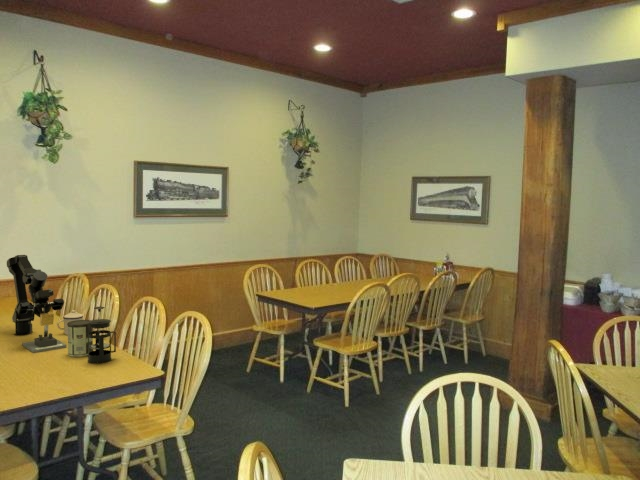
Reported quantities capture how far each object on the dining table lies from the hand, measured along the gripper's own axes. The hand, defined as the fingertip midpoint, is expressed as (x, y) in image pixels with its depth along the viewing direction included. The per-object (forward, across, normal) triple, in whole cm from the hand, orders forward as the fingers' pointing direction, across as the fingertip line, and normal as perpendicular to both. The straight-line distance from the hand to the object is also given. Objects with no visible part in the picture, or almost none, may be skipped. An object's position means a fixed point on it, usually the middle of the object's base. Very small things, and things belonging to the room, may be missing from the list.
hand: (45, 321), depth 242 cm
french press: (+33, +11, -15) cm, 38 cm away
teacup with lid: (-5, +18, +22) cm, 29 cm away
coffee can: (+22, +8, -4) cm, 24 cm away
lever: (+5, 0, +6) cm, 8 cm away
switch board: (+7, 0, +11) cm, 13 cm away
